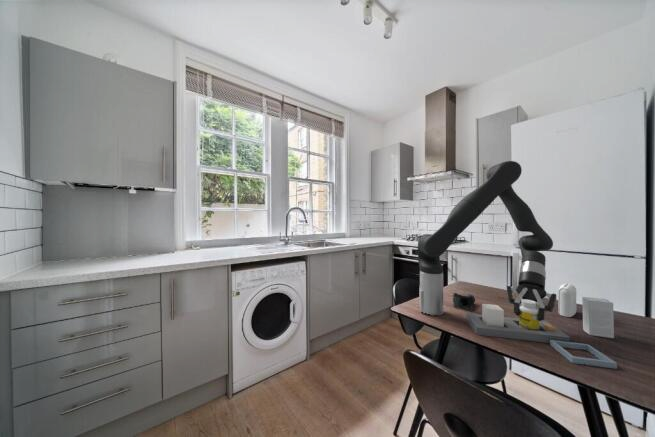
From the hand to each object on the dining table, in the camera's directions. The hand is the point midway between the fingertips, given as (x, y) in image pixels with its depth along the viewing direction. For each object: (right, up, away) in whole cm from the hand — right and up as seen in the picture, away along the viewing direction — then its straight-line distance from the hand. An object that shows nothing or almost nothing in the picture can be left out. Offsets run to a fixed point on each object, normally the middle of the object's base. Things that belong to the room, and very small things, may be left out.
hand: (528, 317), depth 80 cm
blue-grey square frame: (+5, -6, -12) cm, 14 cm away
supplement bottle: (+1, -5, +1) cm, 5 cm away
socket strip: (-4, -6, +3) cm, 7 cm away
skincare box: (+24, -6, 0) cm, 25 cm away
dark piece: (-6, -6, +26) cm, 28 cm away
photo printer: (+31, -6, +17) cm, 35 cm away
